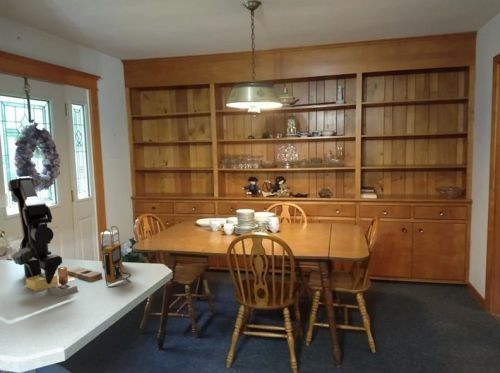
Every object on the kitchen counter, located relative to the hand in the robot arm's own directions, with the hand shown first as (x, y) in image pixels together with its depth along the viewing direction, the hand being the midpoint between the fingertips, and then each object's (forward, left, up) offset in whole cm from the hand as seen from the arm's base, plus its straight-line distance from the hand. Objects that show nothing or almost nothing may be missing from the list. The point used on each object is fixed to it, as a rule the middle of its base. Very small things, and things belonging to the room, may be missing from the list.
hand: (42, 281), depth 139 cm
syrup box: (+1, +28, -2) cm, 29 cm away
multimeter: (+20, +19, -2) cm, 28 cm away
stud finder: (0, 0, -1) cm, 1 cm away
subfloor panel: (0, +3, -2) cm, 4 cm away
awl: (+13, 0, -2) cm, 13 cm away
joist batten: (+5, +13, -2) cm, 14 cm away
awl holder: (+13, 0, -2) cm, 13 cm away
